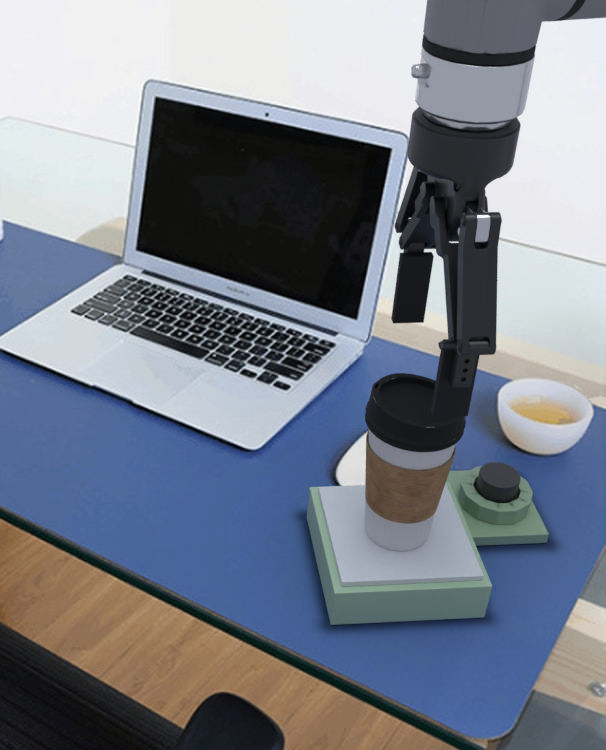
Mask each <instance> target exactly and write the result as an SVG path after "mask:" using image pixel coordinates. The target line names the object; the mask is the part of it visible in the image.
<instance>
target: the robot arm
mask: <svg viewBox="0 0 606 750" xmlns="http://www.w3.org/2000/svg"><path fill="white" fill-rule="evenodd" d="M424 14H425V16H424V21H423V22H424V24H423V34H422V41H421V51H420V55H421V56H420V63H415V64H412V65H411V68H410V71H411V72H410V76H412V78H413V79H416V88H415V97H414V98H415V99H414V102H415V104H416V105H417V106H418V107H417V108H416V109H414V111H413V112H412V115H411V120H410V121H411V122H410V130H409V135H408V136H409V137H408V146H407V151H406V155H407V159H408V161H409V163H410V164H411V165H412V166H413V167H412V170H411V174H410V177H409V180H408V182H407V186H406V189H405V192H404V195H403V198H402V201H401V204H400V207H399V209H398V210H399V211H398V213H397V216H396V219H395V223H394V229H395V233H396V234H400V236H399V239H398V246H399V249H400V251H401V250H402V251H403V252H399V257H398V263H397V265H398V266H397V272H396V278H395V279H396V281H395V286H394V287H395V288H394V295H393V303H392V309H391V310H392V312H391V322H392V324H420V323H421V324H422V323H425V315H426V309H427V303H428V297H429V289H430V284H431V277H432V270H433V263H434V254H433V252H432V251H425V250H435V252H436V255H437V256H438V257H440V258H441V259H442V261H443V262H442V263H443V279H444V294H445V309H446V311H445V312H446V323H447V324H446V326H447V327H446V328H447V338H445V339H442V340H440V341H439V342H437V343H438V344H437V345H438V348H439V350H440V353H439V359H438V365H437V370H436V371H437V372H436V377H435V380H436V382H435V388H434V394H433V400H432V406H431V413H432V416H433V417H449V416H465V417H468V416H469V412H470V407H471V402H472V397H473V391H474V387H475V381H476V375H477V371H478V365H479V361H480V356H491V355H492V356H493V355H495V354H496V352H497V324H498V323H497V320H498V319H497V316H498V315H497V314H498V313H497V312H498V263H499V261H498V259H499V258H498V257H499V256H498V255H499V242H500V240H499V239H500V234H501V227H502V223H503V219H502V213H500V211H489V204H488V197H487V195H486V192H487V191H486V187H488V185H489V184H491V183H493V181H495V180H497V179H501V178H503V177H505V176H506V175H507V174H509V172H511V170H512V168H513V166H514V163H515V157H516V153H517V147H518V142H519V137H520V131H521V122H520V120H519V118H518V117H519V116H522V115H523V113H524V111H525V109H526V105H527V100H528V95H529V89H530V83H531V79H532V73H533V68H534V63H535V60H536V59H535V58H536V49H537V43H538V40H539V36H540V31H541V27H542V24H543V22H545V23H546V22H562V21H576V20H590V19H591V20H593V19H606V0H426V7H425V13H424Z"/></svg>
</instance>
